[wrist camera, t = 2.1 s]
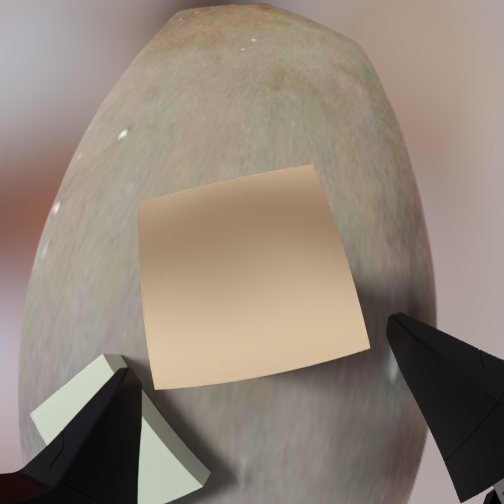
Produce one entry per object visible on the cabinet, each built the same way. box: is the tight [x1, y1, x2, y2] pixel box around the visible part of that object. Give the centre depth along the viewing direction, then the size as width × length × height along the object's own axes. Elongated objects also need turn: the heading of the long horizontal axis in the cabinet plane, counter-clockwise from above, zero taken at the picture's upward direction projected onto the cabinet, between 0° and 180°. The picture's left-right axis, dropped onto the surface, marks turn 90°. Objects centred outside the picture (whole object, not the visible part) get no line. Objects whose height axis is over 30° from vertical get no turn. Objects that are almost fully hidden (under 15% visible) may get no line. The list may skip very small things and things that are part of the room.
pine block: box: [138, 164, 370, 390], centre depth 13 cm, size 6×6×12 cm
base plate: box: [30, 354, 211, 504], centre depth 14 cm, size 11×11×2 cm
